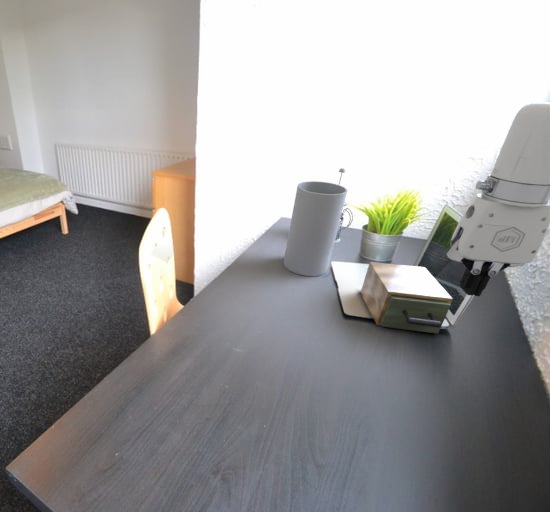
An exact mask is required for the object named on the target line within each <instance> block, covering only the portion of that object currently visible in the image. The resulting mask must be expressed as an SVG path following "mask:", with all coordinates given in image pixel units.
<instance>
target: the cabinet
mask: <svg viewBox="0 0 550 512" xmlns="http://www.w3.org/2000/svg"><path fill="white" fill-rule="evenodd" d="M360 294H361V296H362V298H363V301H364V302H365V304H366V306H367V308H368V310H369V312H370V314H371V316H372V318H373V320H374V322H375V324H376V325H377V326H382V325H381V320H382V317H383V315H384V312H385V309H386V306H387V303H388V300H389V298H390V296H391V295H396V296H405V297H414V298H423V299H431V300H440V301H443V302H449V304H450V305H451V304H452V302H453V299H454V298H453V297H452V296H451V295H450V294H449V292H448V291H447V290H446V289H445V288H444V287H443V286H442V285H441V284H440V283H439V281H438V280H437V278H435V277H434V276H433V274H432V273H431V272H430V271H429V270H428V269H427V268H426V267H425V266H417V265H405V264H395V263H385V262H374V261H369V264H368V267H367V269H366V273H365V277H364V279H363V283H362V286H361V290H360Z"/></svg>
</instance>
